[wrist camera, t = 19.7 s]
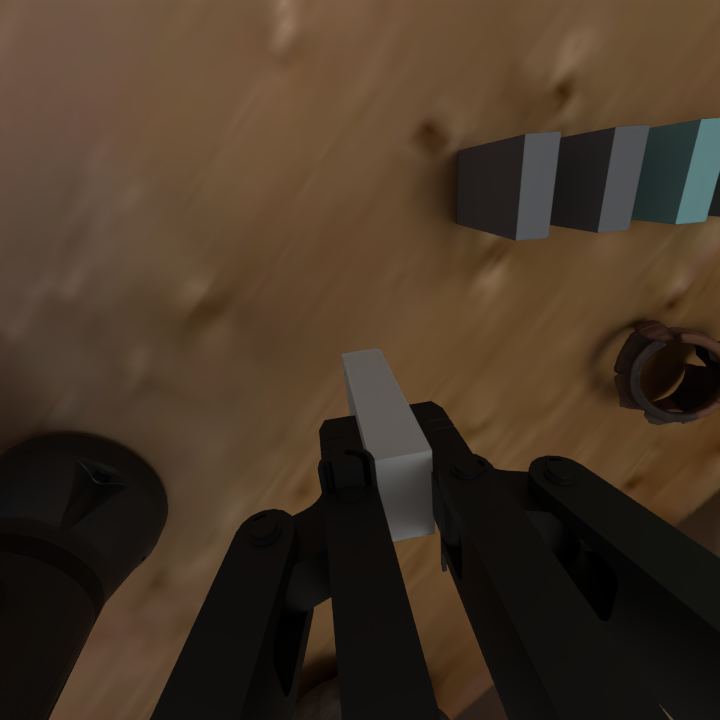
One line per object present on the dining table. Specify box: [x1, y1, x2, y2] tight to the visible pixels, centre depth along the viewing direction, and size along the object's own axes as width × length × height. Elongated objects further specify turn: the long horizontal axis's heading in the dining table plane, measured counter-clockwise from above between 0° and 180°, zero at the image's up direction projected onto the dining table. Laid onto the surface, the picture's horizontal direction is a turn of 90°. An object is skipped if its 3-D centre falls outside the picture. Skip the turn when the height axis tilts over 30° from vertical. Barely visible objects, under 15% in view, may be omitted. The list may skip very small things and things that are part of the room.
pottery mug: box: [614, 320, 720, 425], centre depth 35 cm, size 12×9×8 cm
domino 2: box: [550, 125, 650, 233], centre depth 25 cm, size 2×5×10 cm, turn 4°
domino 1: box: [457, 132, 561, 240], centre depth 25 cm, size 2×5×10 cm, turn 4°
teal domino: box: [631, 118, 720, 224], centre depth 25 cm, size 2×5×10 cm, turn 4°
